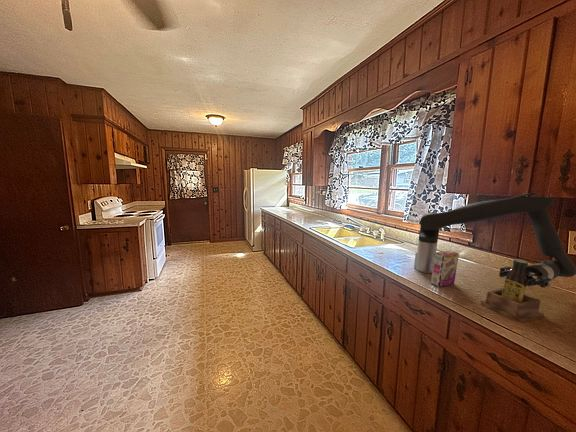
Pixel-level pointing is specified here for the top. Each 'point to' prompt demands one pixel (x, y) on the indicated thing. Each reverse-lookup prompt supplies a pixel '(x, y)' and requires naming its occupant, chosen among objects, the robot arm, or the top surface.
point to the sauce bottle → (516, 282)
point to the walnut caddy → (513, 306)
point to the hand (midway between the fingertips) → (513, 278)
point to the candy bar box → (444, 268)
